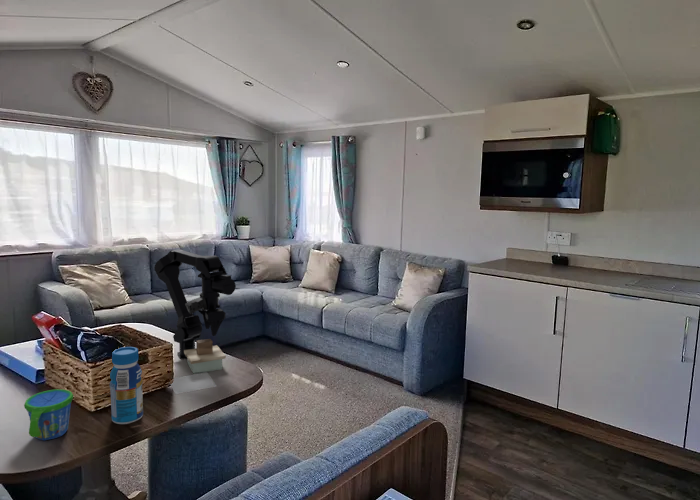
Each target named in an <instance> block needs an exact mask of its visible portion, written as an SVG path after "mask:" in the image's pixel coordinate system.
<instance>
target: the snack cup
mask: <svg viewBox="0 0 700 500" xmlns="http://www.w3.org/2000/svg"><path fill="white" fill-rule="evenodd" d="M73 399H74V394H73V392H72V391H71V390H69V389H62V388H61V389H60V388H59V389H58V388H57V389H49V390H45V391H40V392H37V393H35V394H33V395H31V396H30V397H28V398H27V399H26V400H25V402H24V404H23V406H24V409H25V410H26V411H27V414H28V418H29V428H28V434H29V436H30V437H32V438H36V439H38V440H41V441H47V440H48V441H49V440H53V439H57V438H60V437H62V436H63V435H64V434H66V433H67V431H68V429H69V425H70V424H69V422H70V416H71V415H70V414H71V407H72V406H71V404H72V401H73Z"/></svg>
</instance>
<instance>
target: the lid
mask: <svg viewBox="0 0 700 500" xmlns="http://www.w3.org/2000/svg"><path fill="white" fill-rule="evenodd" d="M213 343H214V341H213V340H212V339H211V338H207V339H198V340H195V349H189V350H184V354H185V355H186V357H187V358H188V359H187V358H186V359H187V361H188V360H189V362H190V363H191V364H195V363H201V362H207V361H213V360H220V359H222V360H225V359H227V356H226V354H225V353H224V352H223V351H222V349H221V348H220V347H219V346H218V345H217V344H216V345H213Z"/></svg>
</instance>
